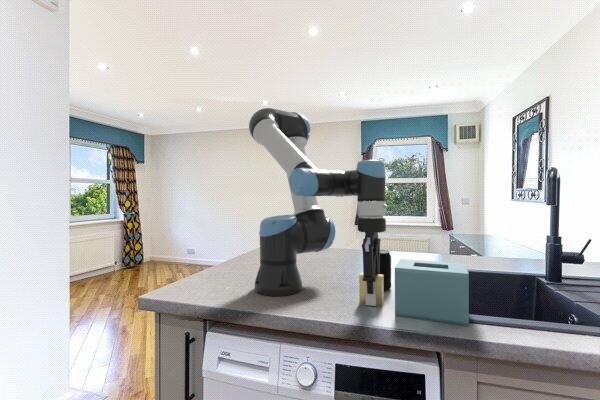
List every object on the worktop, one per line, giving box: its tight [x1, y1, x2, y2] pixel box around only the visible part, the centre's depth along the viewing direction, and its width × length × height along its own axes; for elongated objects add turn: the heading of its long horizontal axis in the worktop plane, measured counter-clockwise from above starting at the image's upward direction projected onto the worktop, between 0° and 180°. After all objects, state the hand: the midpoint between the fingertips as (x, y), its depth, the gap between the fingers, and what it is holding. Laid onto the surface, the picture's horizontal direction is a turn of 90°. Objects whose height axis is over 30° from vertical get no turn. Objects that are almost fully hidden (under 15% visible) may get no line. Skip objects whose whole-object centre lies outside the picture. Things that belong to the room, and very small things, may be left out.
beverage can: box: [379, 249, 392, 292], centre depth 99 cm, size 7×7×12 cm
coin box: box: [394, 258, 470, 327], centre depth 78 cm, size 16×12×12 cm
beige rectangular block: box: [358, 272, 385, 308], centre depth 85 cm, size 6×3×8 cm, turn 66°
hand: (372, 302), depth 85 cm, fingers closed on beige rectangular block, 3 cm apart
